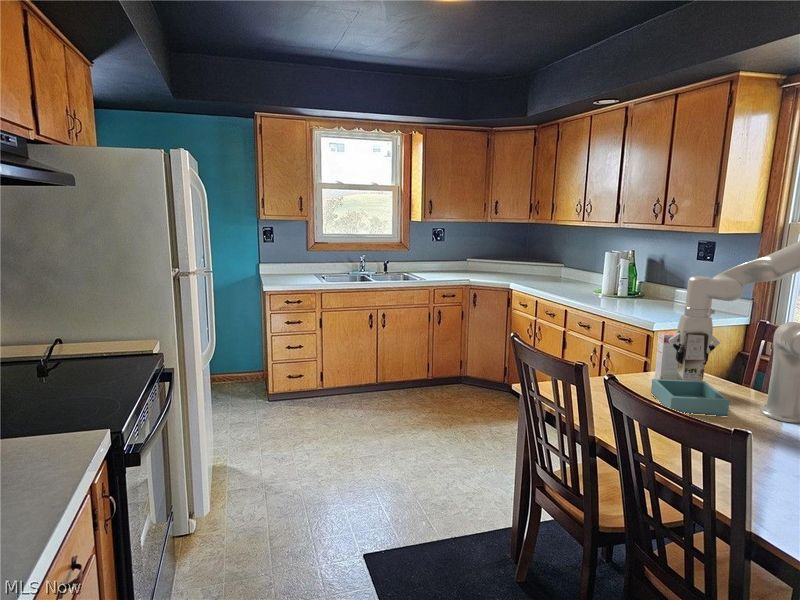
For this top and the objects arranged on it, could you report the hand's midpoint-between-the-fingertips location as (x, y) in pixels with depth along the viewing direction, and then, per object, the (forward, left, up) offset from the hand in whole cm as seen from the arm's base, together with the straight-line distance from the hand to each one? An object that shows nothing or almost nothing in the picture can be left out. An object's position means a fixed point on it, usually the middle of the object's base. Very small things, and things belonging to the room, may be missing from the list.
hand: (691, 362), depth 170 cm
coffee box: (0, 0, -5) cm, 5 cm away
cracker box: (-4, -21, -16) cm, 27 cm away
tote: (0, 0, -16) cm, 16 cm away
